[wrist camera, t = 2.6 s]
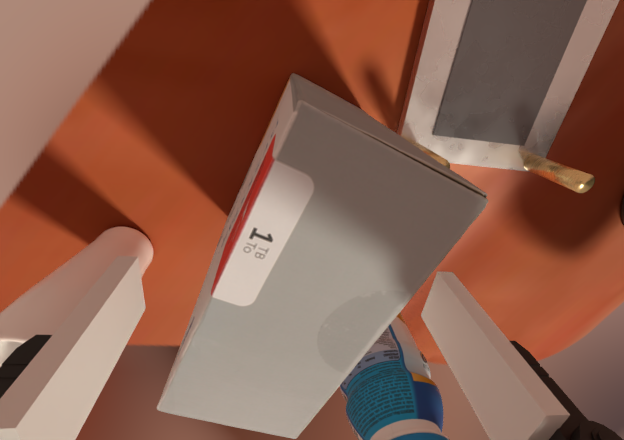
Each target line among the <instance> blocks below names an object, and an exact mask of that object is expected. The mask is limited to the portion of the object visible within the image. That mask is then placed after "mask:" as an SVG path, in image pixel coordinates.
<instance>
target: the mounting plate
mask: <svg viewBox="0 0 624 440" xmlns="http://www.w3.org/2000/svg"><path fill="white" fill-rule="evenodd" d="M618 3H619V0H429V3H428V7H427V11H426V15H425V19H424V23H423V27H422V31H421V36H420V40H419V44H418V48H417V52H416V56H415V60H414V64H413V68H412V72H411V76H410V81H409V85H408V89H407V93H406V97H405V101H404V105H403V109H402V113H401V117H400V121H399V126H398V130H397V134H398V135H400V136H401V137H403V138H404V139H406V140H407V141H408V142H410V143H411V144H413V145H414V146H416V147H417V148H419V149H420V150H422V151H423V152H425V153H426V154H428V155H429V156H431V157H432V158H434V159H435V160H437V161H438V162H440V163H441V164H443V165H444V166H445V167H447V168H448V169H450V164H449V163H455V164H464V165H473V166H483V167H492V168H501V169H511V170H520V171H529V172H532V173H535V174H537V175H539V176H541V177H544V178H546V179H548V180H551V181H553V182H555V183H557V184H560V185H562V186H564V187H566V188H569V189H571V190H573V191H575V192H578V193H584V192H586V191H588V190H589V189H591V187H592V186H593V185H594V182H595V178H594V176H593V175H591V174H588V173H585V172H582V171H580V170H577V169H574V168H571V167H569V166H566V165H563V164H560V163H558V162H555V161H552V160H549V159H547V158H546V156H547V154H548V151H549V149H550V147H551V145H552V143H553V141H554V139H555V137H556V134H557V132H558V130H559V128H560V126H561V124H562V122H563V119H564V117H565V115H566V113H567V111H568V109H569V107H570V105H571V102H572V100H573V98H574V96H575V94H576V92H577V90H578V88H579V85H580V83H581V81H582V79H583V77H584V75H585V73H586V71H587V68H588V66H589V64H590V62H591V60H592V58H593V56H594V54H595V51H596V49H597V47H598V45H599V43H600V41H601V39H602V37H603V34H604V32H605V30H606V28H607V26H608V24H609V22H610V20H611V17H612V15H613V13H614V11H615V9H616V7H617V5H618Z"/></svg>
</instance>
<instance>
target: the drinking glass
mask: <svg viewBox="0 0 624 440" xmlns="http://www.w3.org/2000/svg"><path fill="white" fill-rule="evenodd" d="M153 253H154V252H153V246H152V244H151V242H150V241H149V239H148V238H147V237H146V236H145V235H144V234H143V233H141V232H140V231H138V230H136V229H133V228H130V227H122V226H120V227H113V228H110V229H108V230H106V231H104V232H103V233H102V234H100V235H99V236H98V237H97V238H96V239H95V240H94V241H93V242H92V243H90V244H89V245H88V246H86V247H85V248H84V249H82V250H81V251H80V252H78V253H77V254H76V255H74V256H73V257H72V258H70V259H69V260H68V261H66V262H65V263H64V264H62V265H61V266H60V267H58V268H57V269H56V270H54V271H53V272H52V273H50V274H49V275H47V276H46V277H45V278H43V279H42V280H41V281H39V282H38V283H37V284H35V285H34V286H33V287H31V288H30V289H29V290H27V291H26V292H25V293H23V294H22V295H21V296H20V297H18V298H17V299H16V300H15V301H13V302H12V303H11V304H10V305H9V306H7V307H6V308H5V309H4V310H3V311H2V312H0V367H1V366H2V363H3V362H4V361H5V360H6V359H7V358H8V357H9V356H10V355H11V353H12V352H13V351H14V350H15V349H16V348H17V347H19V346H20V345H22V344H23V343H25V342H26V341H28V340H29V339H30V338H32V337H33V336H35V335H53V334H54V333H55V332H56V330H57V329H58V328H59V327H60V325H61V324H62V323H63V322H64V321H65V319H66V318H67V317H68V316H69V314H70V313H71V312H72V311H73V310H74V308H75V307H76V306H77V305H78V304H79V302H80V301H81V300H82V299H83V297H84V296H85V295H86V294H87V293H88V291H89V290H90V289H91V288H92V287H93V285H94V284H95V283H96V282H97V280H98V279H99V278H100V277H101V276H102V274H103V273H104V272H105V271H106V270H107V268H108V267H109V266H110V265H111V263H112V262H113V261H114V260H115V259H116V257H117V256H132V257H138V260H139V267H140V274H141V278H142V276H143V274H144V272H145V271H146V269H147V268H148V266H149V264H150V263H151V261H152V259H153Z"/></svg>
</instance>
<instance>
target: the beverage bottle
mask: <svg viewBox="0 0 624 440" xmlns="http://www.w3.org/2000/svg"><path fill="white" fill-rule="evenodd" d="M430 376H431V375H430V369H429V366H428V364H427V361H426V359H425V357H424V355H423V354H422V352H421V351H420V350H419V349H418V348H417V346H416V344H415V342H414V340H413V337H412V335H411V333H410V331H409V329H408V327H407V325H406V323H405V321H404V319H403V317H402V315H401V312H400V313H399V314H398V315H397V316H396V317H395V319H394V320H393V321H392V322H391V323H390V325H389V326H388V327H387V328H386V330H385V331H384V332H383V333H382V334H381V336H380V337H379V338H378V339H377V340H376V342H375V343H374V344H373V345H372V346H371V348H370V349H369V350H368V351H367V353H366V354H365V355H364V356H363V357H362V359H361V360H360V361H359V362H358V364H357V365H356V366H355V367H354V369H353V370H352V371H351V372H350V373H349V375H348V376H347V377H346V378H345V380H344V381H343V382H342V383H341V384H340V389H341V392H342V395H343V397H344V399H345V400H346V402H347V405H346V415H347V419H348V422H349V424H350V426H351V428H352V430H353V432H354V434H355V435H356V437H357V438H358V440H449V438H448V437H447V436H446V435H445V434H443V433H442V426H443V406H442V399H441V395H440V392H439V389H438V388H437V386H436V384H435V383H434V382H433V381H432V380H431V379H430Z"/></svg>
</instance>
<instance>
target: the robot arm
mask: <svg viewBox="0 0 624 440" xmlns="http://www.w3.org/2000/svg"><path fill="white" fill-rule="evenodd" d="M621 217H622V221H623V224H624V197H623V201H622V206H621ZM144 310H145V301H144V294H143V287H142V280H141V274H140V267H139V260H138V257H132V256H117V257H116V259H115V260H114V261H113V262H112V263H111V265H110V266H109V267H108V268H107V270H106V271H105V272H104V273H103V274H102V276H101V277H100V278H99V279H98V280H97V282H96V283H95V284H94V285H93V287H92V288H91V289H90V290H89V291H88V293H87V294H86V295H85V296H84V297H83V299H82V300H81V301H80V302H79V304H78V305H77V306H76V307H75V308H74V310H73V311H72V312H71V313H70V314H69V316H68V317H67V318H66V319H65V321H64V322H63V323H62V324H61V325H60V327H59V328H58V329H57V330H56V332H55V333H54V334H53V335H35V336H33V337H32V338H30V339H29V340H28V341H26V342H25V343H23V344H22V345H20V346H19V347H17V348H16V349H15V350H14V351H13V352H12V353H11V355H10V356H9V357H8V358H7V359H6V360H5V361H4V362H3V363H2V366H1V367H0V440H75V439H76V437H77V435H78V434H79V432H80V430H81V428H82V426H83V424H84V422H85V420H86V419H87V417H88V415H89V413H90V411H91V409H92V407H93V405H94V404H95V402H96V400H97V398H98V396H99V394H100V393H101V390H102V389H103V387H104V385H105V383H106V381H107V379H108V378H109V376H110V374H111V372H112V370H113V368H114V366H115V365H116V363H117V361H118V359H119V357H120V355H121V353H122V351H123V349H124V348H125V346H126V344H127V342H128V340H129V338H130V337H131V335H132V333H133V331H134V329H135V327H136V325H137V323H138V322H139V320H140V318H141V316H142V314H143V312H144ZM421 317H422V319H423V320H424V322H425V324H426V326H427V328H428V329H429V331H430V333H431V335H432V336H433V338H434V340H435V342H436V344H437V345H438V347H439V349H440V351H441V353H442V354H443V356H444V358H445V360H446V362H447V363H448V365H449V367H450V369H451V370H452V372H453V374H454V376H455V377H456V379H457V381H458V383H459V385H460V386H461V388H462V390H463V392H464V394H465V395H466V397H467V399H468V401H469V403H470V404H471V406H472V408H473V410H474V412H475V413H476V415H477V417H478V419H479V420H480V422H481V424H482V426H483V428H484V430H485V431H486V433H487V434H488V437H489V438H490V440H623V439H622V438H621V437H619V436H618V435H617V434H616V433H615V432H613V431H612V430H610V429H609V428H607V427H605V426H604V425H602V424H599V423H597V422H594V421H588V420H587V418H586V417H585V416H584V415H583V414H582V413H581V412H580V411H579V410H578V408H577V407H576V406H575V405H574V404H573V402H572V401H571V400H570V399H569V398H568V397H567V395H566V394H565V393H564V392H563V391H562V390H561V389H560V387H559V386H558V385H557V384H556V383H555V381H554V380H553V379H552V378H550V377H549V374H548V373H547V372H546V371H545V370H544V369H543V368H542V367H540V364H539V363H538V362H537V361H536V359H535V358H534V357H533V356H532V355H531V354H530V352H529V351H527V350H526V349H525V348H523V347H522V346H521V345H520V344H518V343H517V342H516V341H509V340H508V339H507V338H506V336H505V335H504V334H503V333H502V332H501V330H500V329H499V328H498V327H497V325H496V324H495V323H494V322H493V321H492V319H491V318H490V317H489V316H488V315H487V313H486V312H485V311H484V310H483V308H482V307H481V306H480V305H479V304H478V302H477V301H476V300H475V299H474V298H473V296H472V295H471V294H470V293H469V292H468V290H467V289H466V288H465V287H464V285H463V284H462V283H461V282H460V281H459V279H458V278H457V277H456V276H455V275H454V273H453V272H437V274H436V277H435V280H434V282H433V285H432V288H431V290H430V293H429V295H428V298H427V301H426V303H425V306H424V309H423V311H422V314H421Z"/></svg>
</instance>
